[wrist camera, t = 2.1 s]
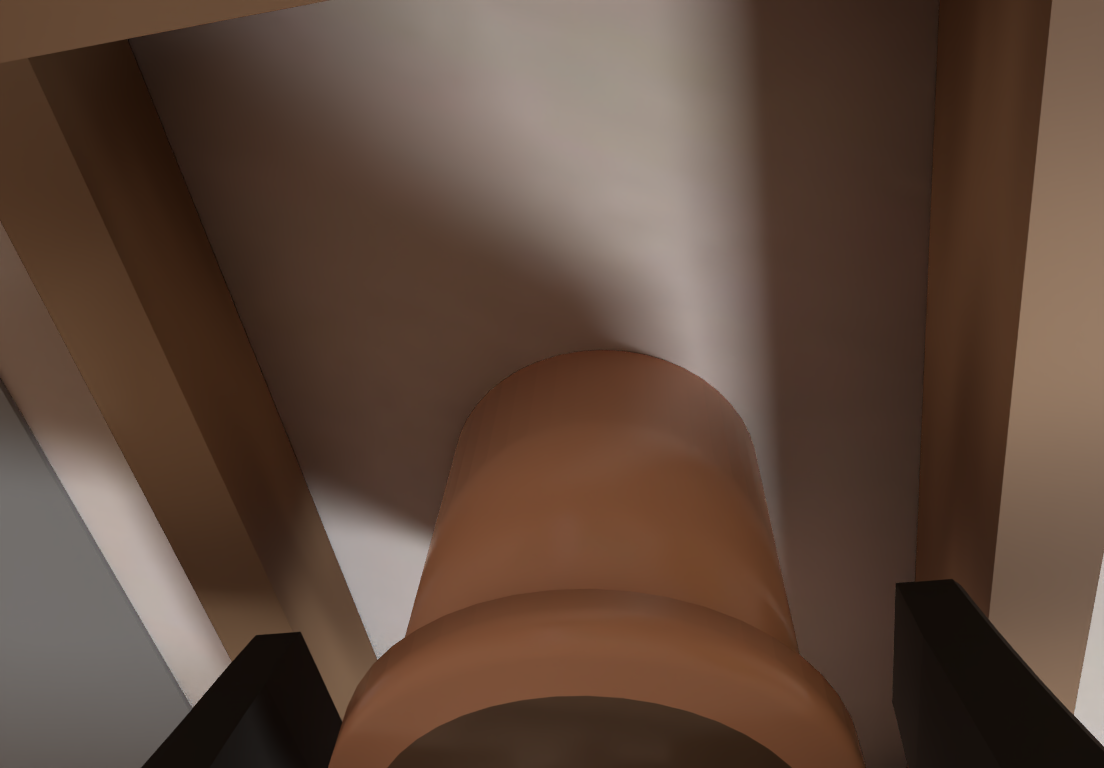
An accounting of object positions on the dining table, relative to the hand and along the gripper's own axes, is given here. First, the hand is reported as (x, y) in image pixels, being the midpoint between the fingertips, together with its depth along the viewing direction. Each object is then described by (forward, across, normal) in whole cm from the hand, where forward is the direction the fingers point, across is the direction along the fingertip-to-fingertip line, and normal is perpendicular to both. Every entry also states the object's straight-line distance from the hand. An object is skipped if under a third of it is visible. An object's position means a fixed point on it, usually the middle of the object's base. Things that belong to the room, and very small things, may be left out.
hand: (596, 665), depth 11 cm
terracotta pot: (+4, 0, 0) cm, 4 cm away
